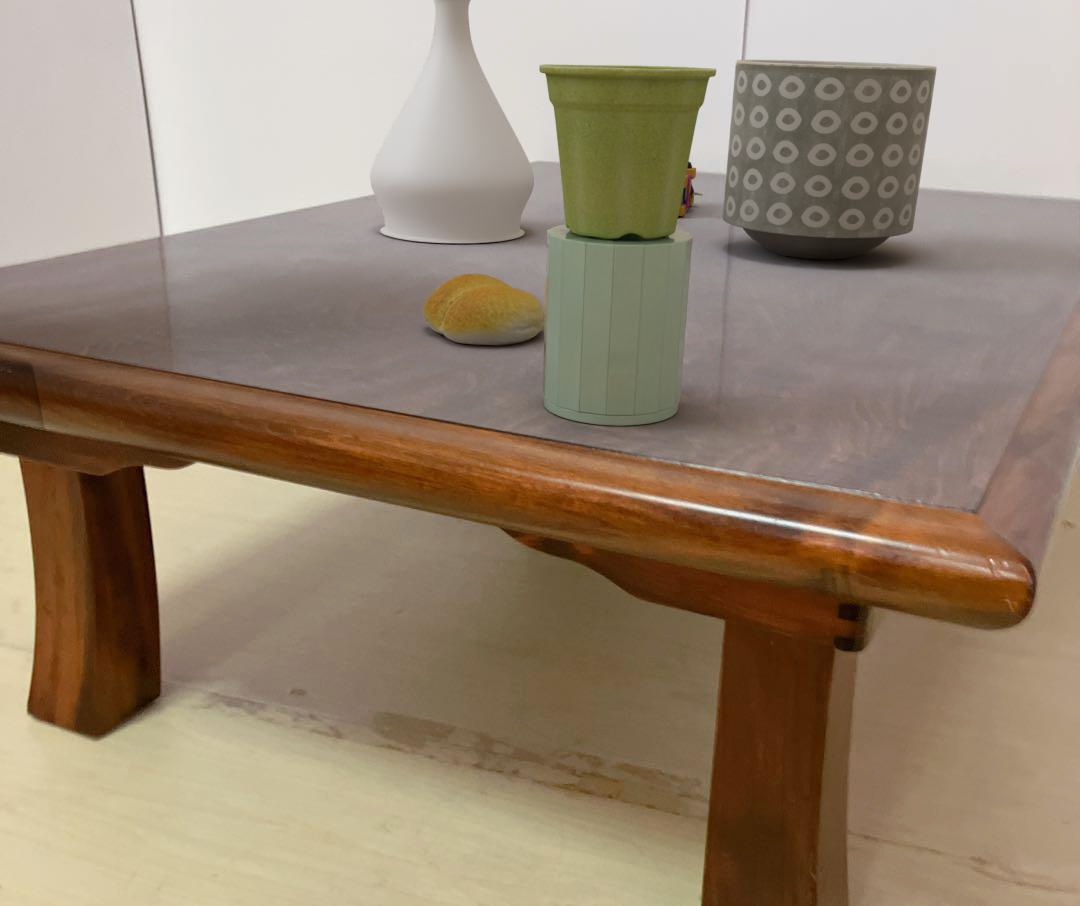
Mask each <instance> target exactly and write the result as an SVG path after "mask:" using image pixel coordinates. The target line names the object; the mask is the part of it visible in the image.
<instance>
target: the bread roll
mask: <svg viewBox="0 0 1080 906" xmlns="http://www.w3.org/2000/svg"><path fill="white" fill-rule="evenodd" d="M422 312H423V316H424V319H425V321H426V323H427V325H428V327H429V328H430V329H431V330H432V331H434V332H435V333H438V334H440V335H443V336H444V337H445V338H446V339H448V340H451V341H453V342H454V343H458V344H467V345H477V346H478V345H480V346H481V345H483V346H505V345H506V346H507V345H514V344H515V345H516V344H519V343H523V342H527V341H529V340H531V339H532V338H534V337H536V336H537V335H538V334H539V333H541V331H542V330H544V326H545V310H544V308H543V305H542V303H541V302H540V300H539V298H537V296H536V295H534V294H532V293H529V292H527V291H524V290H522V289H518V288H515V287H512V286H511V285H510V284H508V283H507V282H505V281H502V280H501V279H499V278H496V277H493V276H490V275H487V274H483V273H465V274H460V275H456V276H454V277H451V278H449V279H448V280H446V281H445V282H443V283H441V284H440V285H439V286H438V287H437V288H436V289H434V290H433V291H432V292H431V293H430V294H429V296H428V297H427V298H426V300H425V301H424V304H423V309H422Z"/></svg>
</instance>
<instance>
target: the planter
mask: <svg viewBox="0 0 1080 906" xmlns="http://www.w3.org/2000/svg"><path fill="white" fill-rule="evenodd" d="M734 68H735V69H734V79H733V89H732V90H733V91H732V92H733V93H732V104H731V113H730V114H731V116H730V125H729V139H728V149H727V150H728V151H727V160H726V173H725V184H724V196H723V207H722V221H724V222H725V223H726V224H729V225H732V226H734V227H739V228H741V229H743V231H744V232H745V233H746V235H747V236H749V238H750V239H752V240H753V241H754V242H756V243H757V244H759V245H760V246H762V247H764V248H765V249H767V250H769V251H771V252H773V253H775V254H778V255H781V256H785V257H791V258H796V259H805V260H820V261H821V260H822V261H825V260H827V261H828V260H829V261H831V260H833V261H834V260H845V259H850V258H853V257H856V256H859V255H862V254H864V253H866V252H869V251H871V250H873V249H875V248H877V247H879V246H880V245H882V244H883V243H885V242H886V241H887V240H888V239H890V238H892V237H899V236H902V235H906V234H910V233H911V232H913V230H914V225H915V217H916V210H917V205H918V198H919V197H918V196H919V191H920V184H921V183H920V182H921V178H922V177H921V176H922V170H923V163H924V158H925V157H924V156H925V149H926V144H927V137H928V130H929V122H930V116H931V111H932V103H933V96H934V91H935V82H936V77H937V69H938V68H937V66H935V65H925V64H910V63H909V64H908V63H891V62H890V63H887V62H866V61H865V62H862V61H861V62H860V61H837V60H836V61H833V60H831V61H830V60H802V59H801V60H798V59H796V60H795V59H737V60H735V66H734Z"/></svg>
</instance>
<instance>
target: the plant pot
mask: <svg viewBox="0 0 1080 906" xmlns="http://www.w3.org/2000/svg"><path fill="white" fill-rule="evenodd" d="M538 67H539V69H538V70H539V73H540V74H545V78H546V86H547V93H548V100H549V103H551V105H552V106H553V113H554V120H555V131H556V141H557V150H558V159H559V169H560V178H561V190H562V201H563V213H564V222H565V225H566V227H567V228H569V229H570V230H571V232H573V233H575V234H577V235H580V236H594V237H599V238H601V239H614V238H620V237H621V236H623V235H625V234H629V233H634V234H638V235H639V236H641V237H642V238H647V239H656V238H659V237H663V236H669V235H671V234H673V233H674V232H675V230H676V229H677V224H678V219H679V216H678V214H679V209H680V204H681V198H682V193H683V188H684V182H685V177H686V172H687V167H688V161H689V160H690V157H691V150H692V145H693V140H694V135H695V130H696V124H697V120H698V115H699V111H700V109H701V107H702V106H703V105H704V103H705V99H706V94H707V88H708V84H709V80H710V78H714V77H716V75H717V68H711V67H693V66H669V65H668V66H667V65H624V64H623V65H622V64H621V65H620V64H619V65H618V64H617V65H616V64H550V63H549V64H548V63H547V64H539V66H538ZM689 162H690V161H689Z"/></svg>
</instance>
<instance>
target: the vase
mask: <svg viewBox="0 0 1080 906" xmlns="http://www.w3.org/2000/svg"><path fill="white" fill-rule="evenodd" d="M471 1H472V0H433V3H434V9H435V13H434V14H435V17H434V26H433V33H432V38H431V43H430V47H429V50H428V53H427V54H426V55H427V56H426V58H425V60H424V63H423V65H422V66H421V68H420V69H421V70H420V72H419V74H418V76H417V77H416V80H415V81H414V84H413V86H412V87H411V89H410V91H409V93H408V95H407V97H406V99H405V101H404V103H403V104H402V106H401V108H400V109H399V112H398V113H397V115H396V117H395V119H394V121H393V123H392V124H391V126H390V128H389V130H388V131H387V134H386V135H385V137H384V139H383V141H382V143H381V145H380V147H379V148H378V151H377V153H376V155H375V158H374V160H373V163H372V165H371V168H370V173H369V181H370V186H371V189H372V193H373V195H374V196H375V199H376V200H377V202H378V204H379V207H380V209H381V210H382V214H383V219H384V226H382V227H381V228H380V229H379V232H380V233H381V234H383V235H384V236H387V237H390V238H394V239H399V240H405V241H412V242H420V243H433V244H434V243H435V244H436V243H437V244H481V243H482V244H483V243H495V242H497V243H498V242H505V241H510V240H514V239H518V238H521V237H522V236H524V235H525V231H524V230H523V229H522V228H521V220H522V215H523V213H524V210H525V207H526V205H527V204H528V201H529V199H530V197H531V195H532V193H533V190H534V185H535V177H534V176H535V175H534V172H533V168H532V165H531V163H530V160H529V158H528V156H527V154H526V152H525V149H524V147H523V146H522V144H521V142H520V140H519V138H518V135H517V134H516V132H515V130H514V129H513V127H512V125H511V123H510V121H509V119H508V118H507V115H506V114H505V112H504V110H503V108H502V106H501V104H500V103H499V101H498V98H497V97H496V95H495V93H494V91H493V89H492V87H491V85H490V82H489V81H488V79H487V77H486V75H485V73H484V71H483V69H482V66H481V64H480V62H479V59H478V57H477V54H476V52H475V48H474V44H473V41H472V35H471V28H470V19H469V16H470V15H469V9H470V8H469V7H470V3H471Z"/></svg>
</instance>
